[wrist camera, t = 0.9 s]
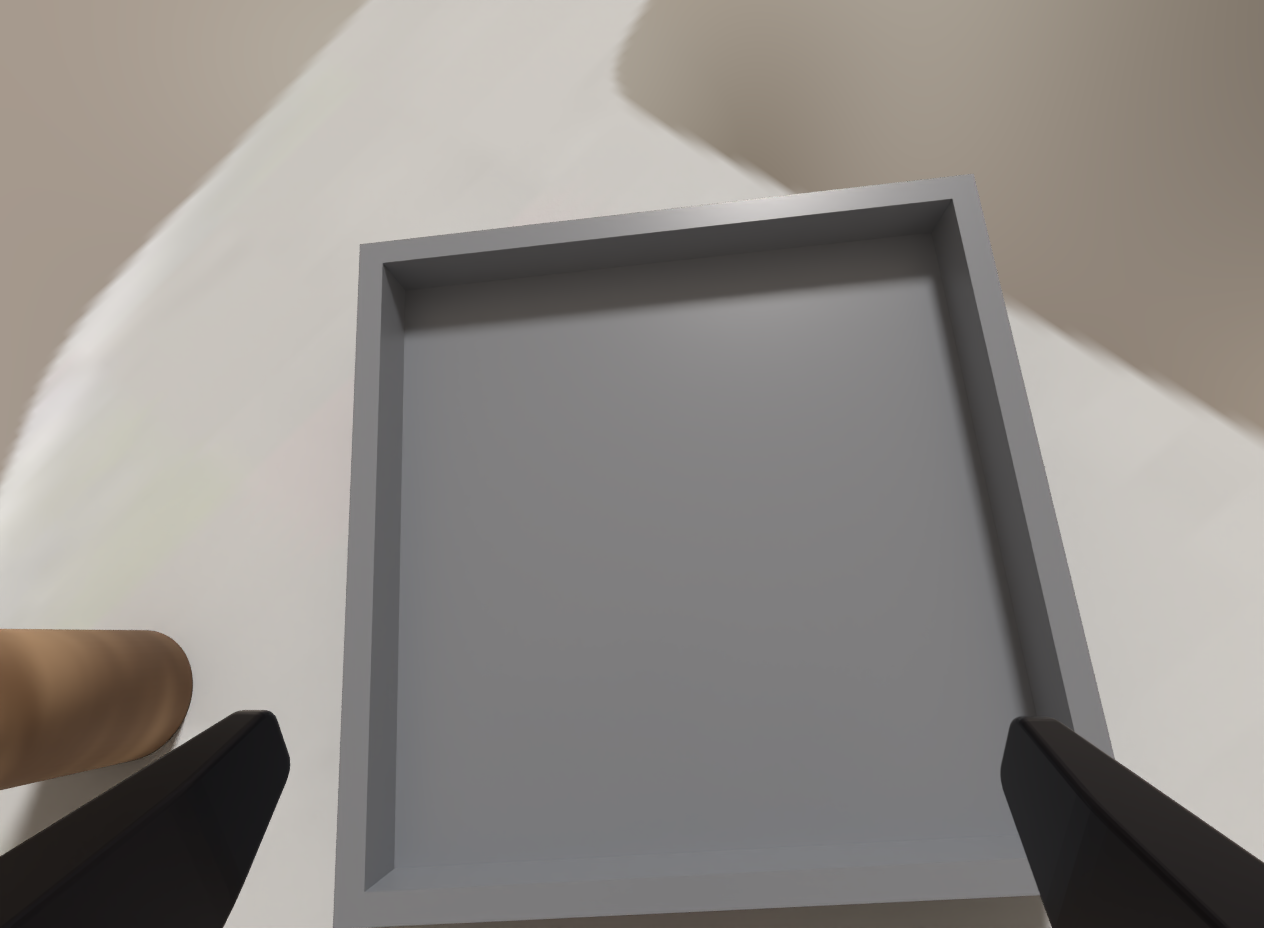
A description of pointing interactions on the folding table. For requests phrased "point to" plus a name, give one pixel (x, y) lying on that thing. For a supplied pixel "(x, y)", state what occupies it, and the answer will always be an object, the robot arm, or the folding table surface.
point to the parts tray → (695, 566)
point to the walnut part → (86, 699)
